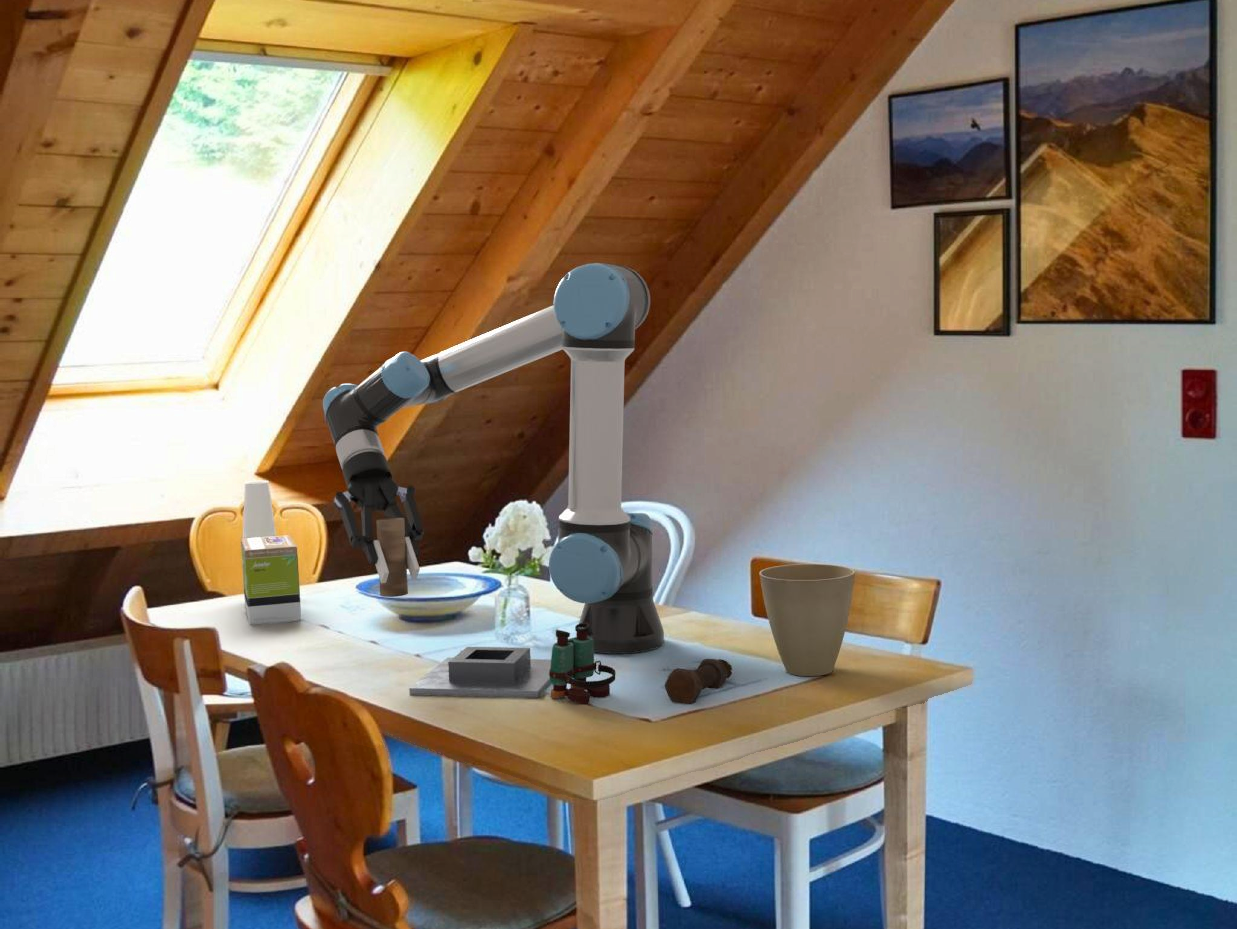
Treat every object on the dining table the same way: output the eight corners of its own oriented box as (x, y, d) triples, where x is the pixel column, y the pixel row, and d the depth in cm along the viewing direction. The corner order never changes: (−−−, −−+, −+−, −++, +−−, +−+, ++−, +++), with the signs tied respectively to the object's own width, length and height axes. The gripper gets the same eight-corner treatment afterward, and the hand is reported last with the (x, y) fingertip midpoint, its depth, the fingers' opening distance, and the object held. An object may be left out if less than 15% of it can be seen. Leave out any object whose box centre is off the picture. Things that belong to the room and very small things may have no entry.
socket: (566, 665, 240) (565, 641, 240) (537, 697, 221) (537, 671, 220) (448, 663, 244) (447, 639, 243) (409, 694, 224) (408, 668, 224)
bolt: (728, 693, 228) (685, 714, 215) (702, 674, 230) (658, 694, 217) (745, 662, 227) (703, 681, 214) (719, 643, 229) (676, 661, 215)
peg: (411, 591, 237) (407, 517, 236) (402, 596, 233) (399, 521, 232) (385, 591, 238) (381, 517, 237) (376, 596, 234) (372, 521, 233)
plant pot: (826, 656, 243) (825, 560, 241) (873, 676, 229) (873, 574, 227) (744, 665, 237) (743, 568, 236) (787, 687, 223) (786, 583, 222)
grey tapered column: (283, 597, 304) (277, 482, 302) (251, 601, 301) (245, 484, 299) (273, 592, 310) (268, 479, 308) (241, 596, 307) (235, 481, 304)
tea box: (243, 611, 292) (239, 537, 290) (295, 606, 295) (291, 533, 293) (248, 626, 278) (244, 548, 276) (302, 621, 281) (298, 544, 279)
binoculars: (592, 643, 212) (540, 628, 218) (588, 713, 214) (537, 697, 220) (631, 632, 219) (580, 618, 225) (627, 700, 221) (577, 684, 227)
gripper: (409, 474, 251) (447, 584, 238) (309, 482, 244) (342, 596, 231) (418, 445, 246) (457, 555, 233) (315, 452, 238) (350, 567, 225)
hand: (400, 575), depth 232 cm, fingers closed on peg, 4 cm apart
